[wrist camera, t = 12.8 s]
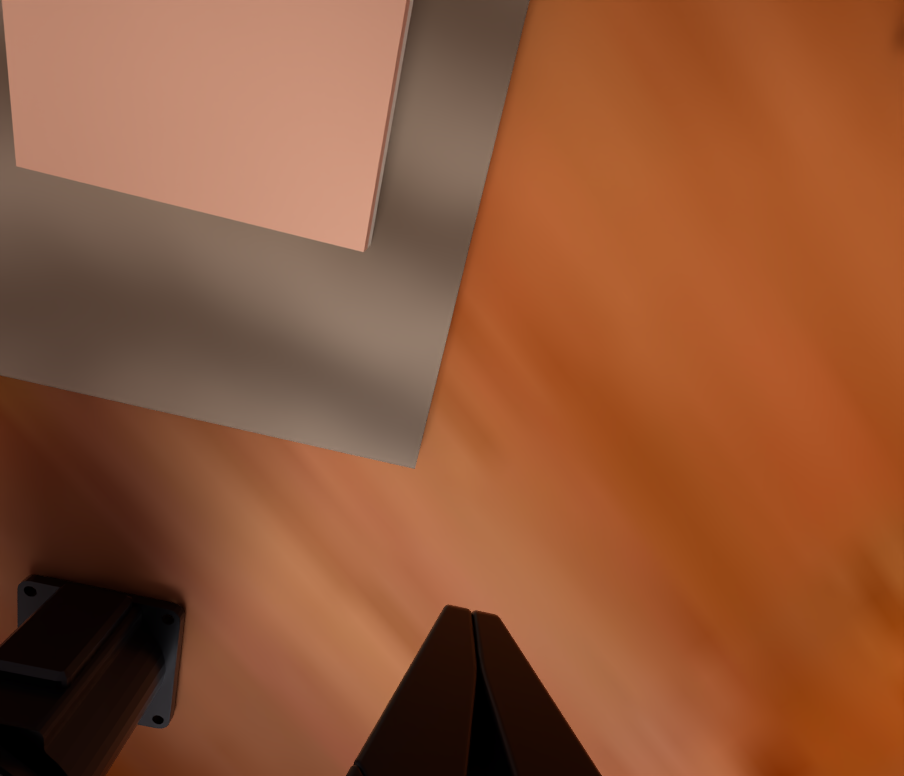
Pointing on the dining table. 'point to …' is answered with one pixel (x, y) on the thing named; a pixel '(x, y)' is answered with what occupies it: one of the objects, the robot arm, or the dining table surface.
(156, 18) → the tile
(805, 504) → the dining table surface
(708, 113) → the dining table surface
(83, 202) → the board
